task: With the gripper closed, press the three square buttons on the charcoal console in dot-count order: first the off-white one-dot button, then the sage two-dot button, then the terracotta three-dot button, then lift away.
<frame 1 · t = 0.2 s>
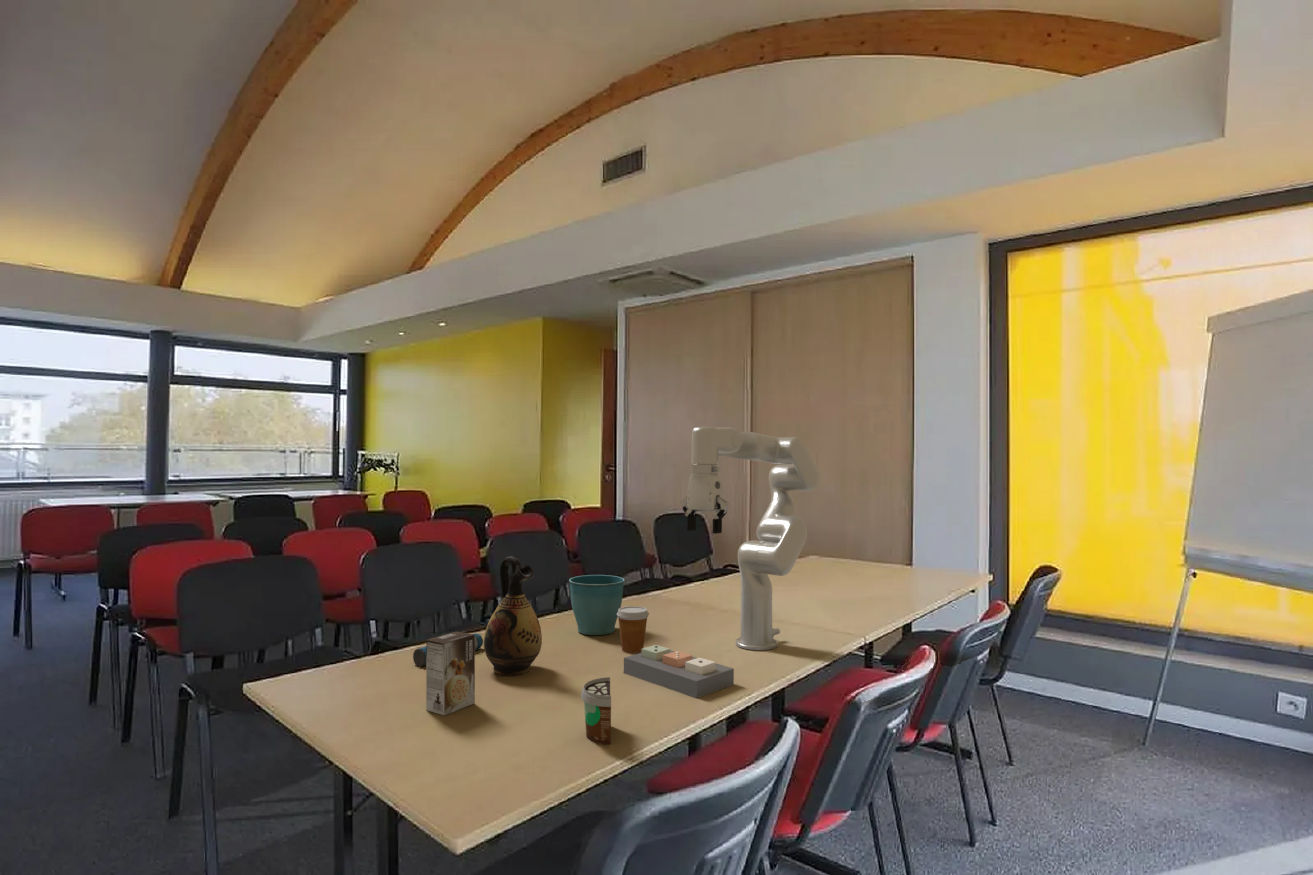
hand: (704, 531, 193), 36 cm above the table, tool pointing down, fingers open, 9 cm apart
button two dots: (655, 654, 184), point 4 cm above the table, slide at 0.0 cm
disposable coffee cup: (632, 650, 204), on the table
flower pot: (596, 632, 225), on the table
ceramic jug: (511, 670, 185), on the table
button one dot: (700, 668, 172), point 4 cm above the table, slide at 0.0 cm
food container: (595, 736, 142), on the table
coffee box: (450, 708, 157), on the table
console: (677, 678, 178), on the table
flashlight: (450, 658, 196), on the table
button three dots: (677, 661, 178), point 4 cm above the table, slide at 0.0 cm
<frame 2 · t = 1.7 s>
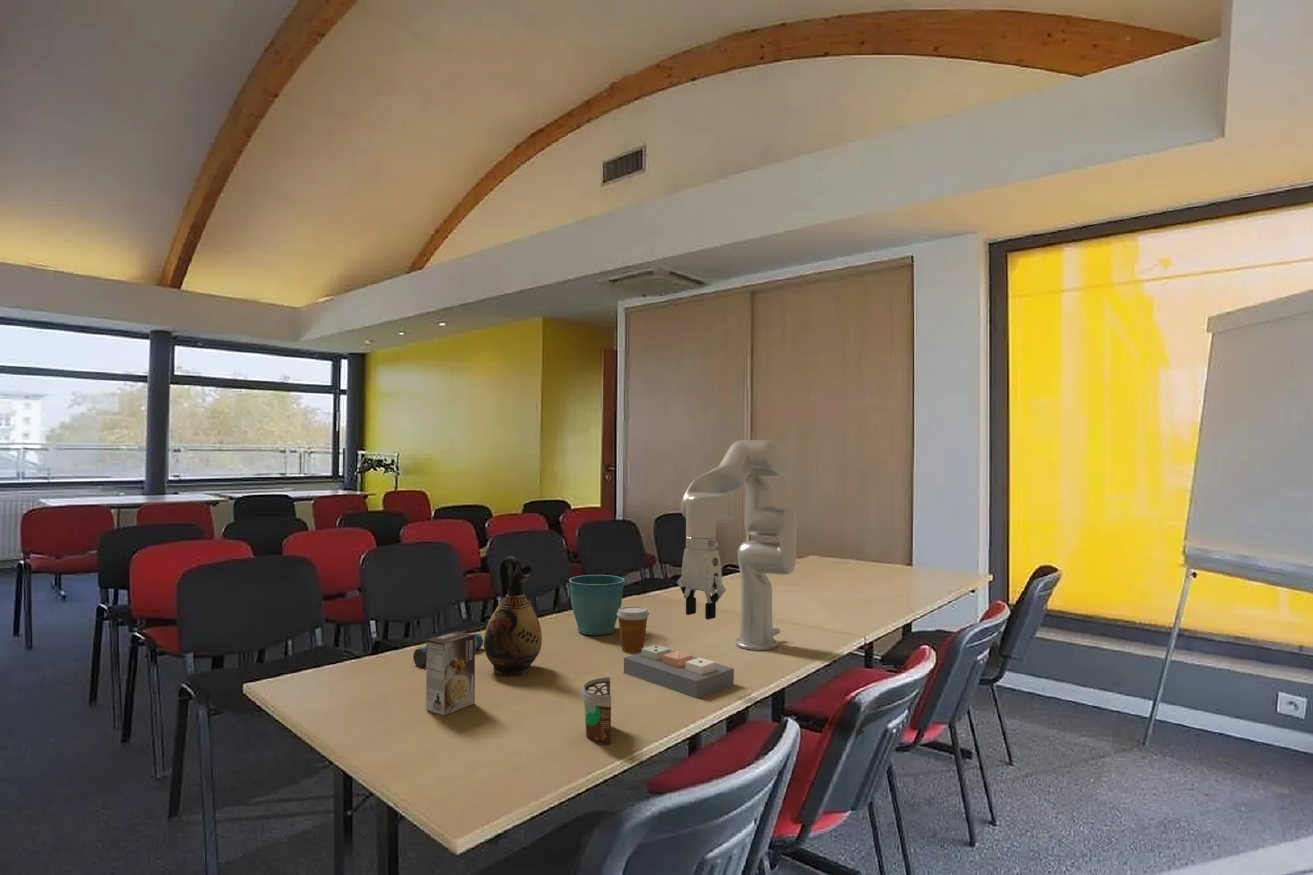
hand: (700, 615, 173), 18 cm above the table, tool pointing down, fingers open, 5 cm apart
nothing on the table moved.
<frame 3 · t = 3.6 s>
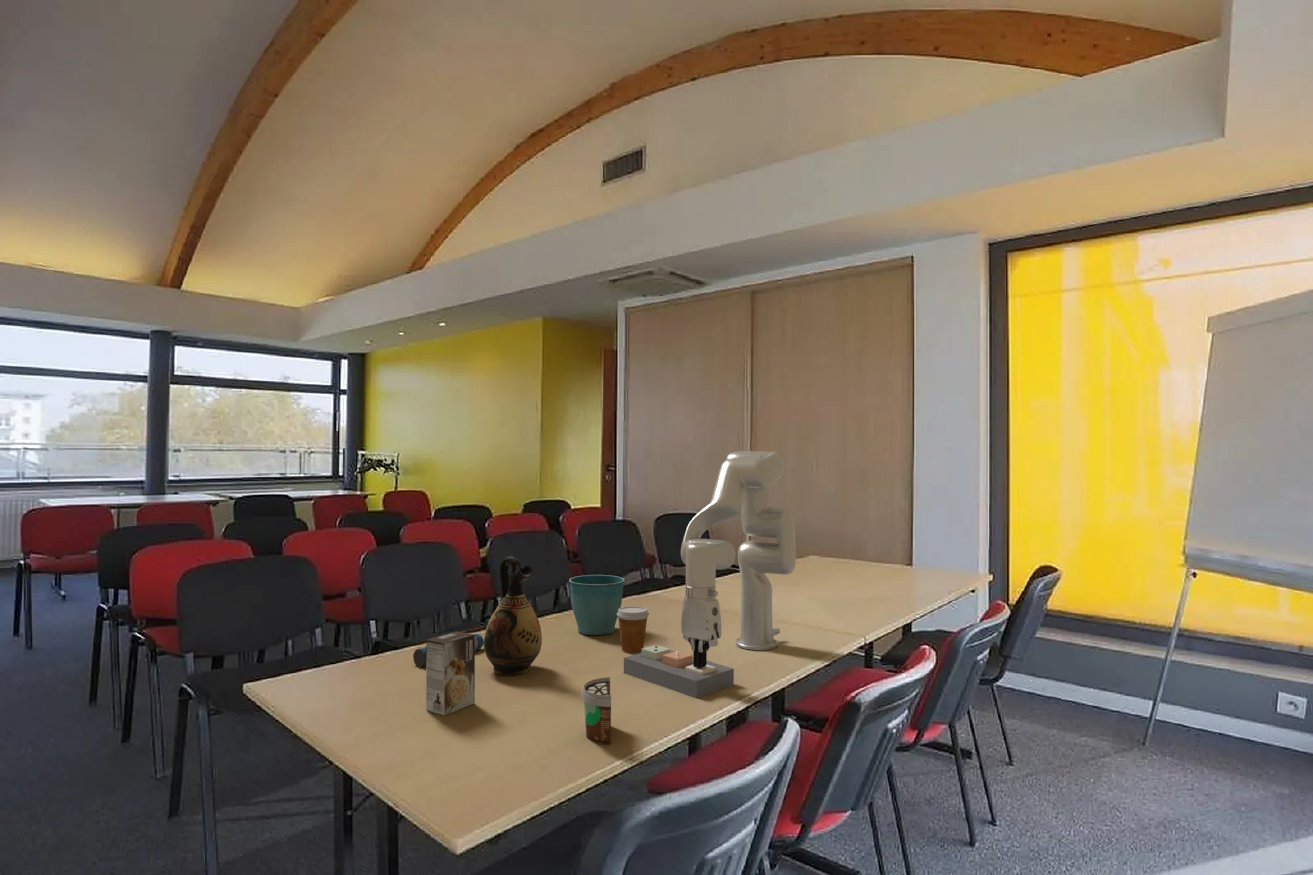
hand: (699, 666, 172), 5 cm above the table, tool pointing down, fingers closed
button one dot: (700, 673, 172), point 3 cm above the table, slide at 1.3 cm, touching gripper
everything else where it was.
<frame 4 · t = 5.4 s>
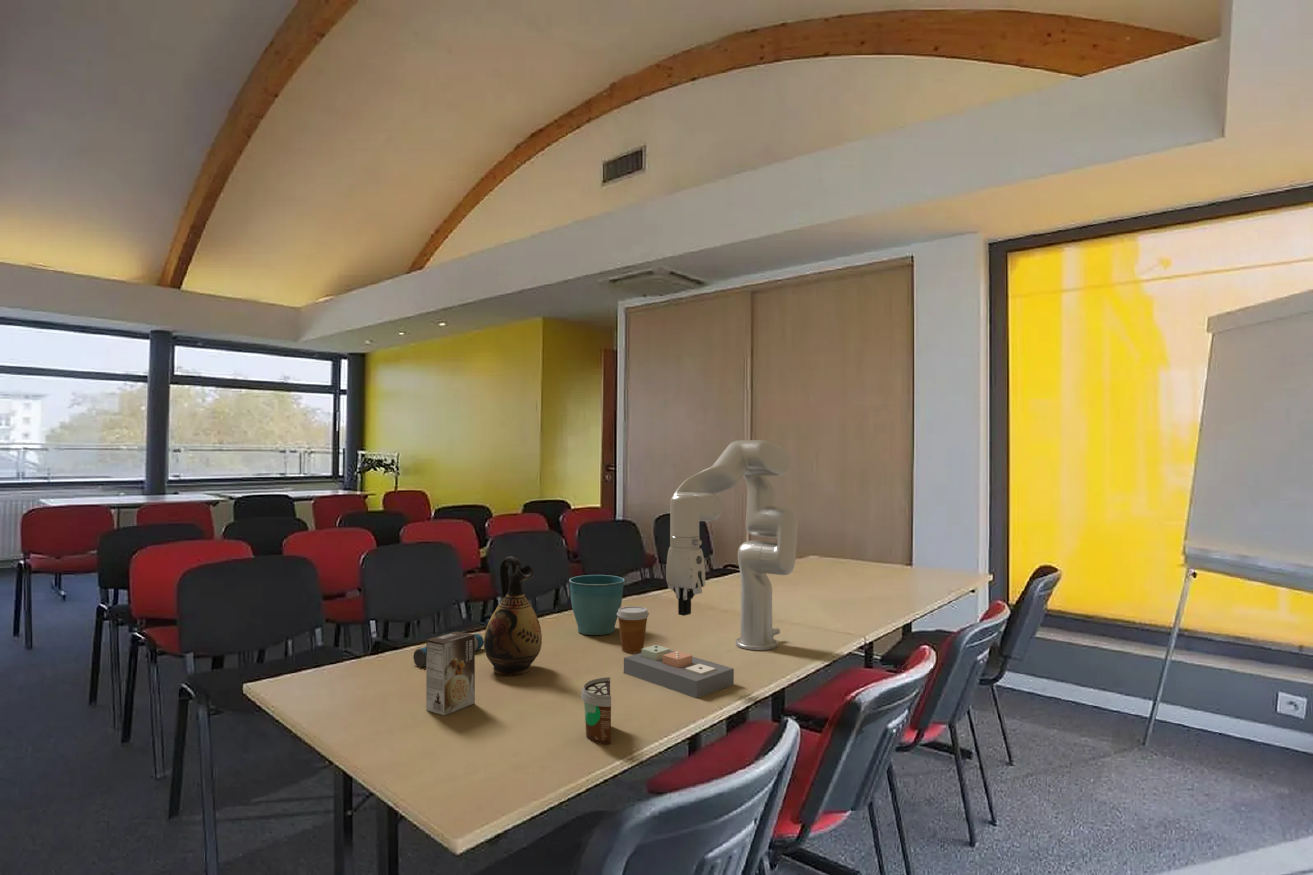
hand: (684, 614, 177), 17 cm above the table, tool pointing down, fingers closed
button one dot: (700, 674, 172), point 3 cm above the table, slide at 1.6 cm
everything else where it was.
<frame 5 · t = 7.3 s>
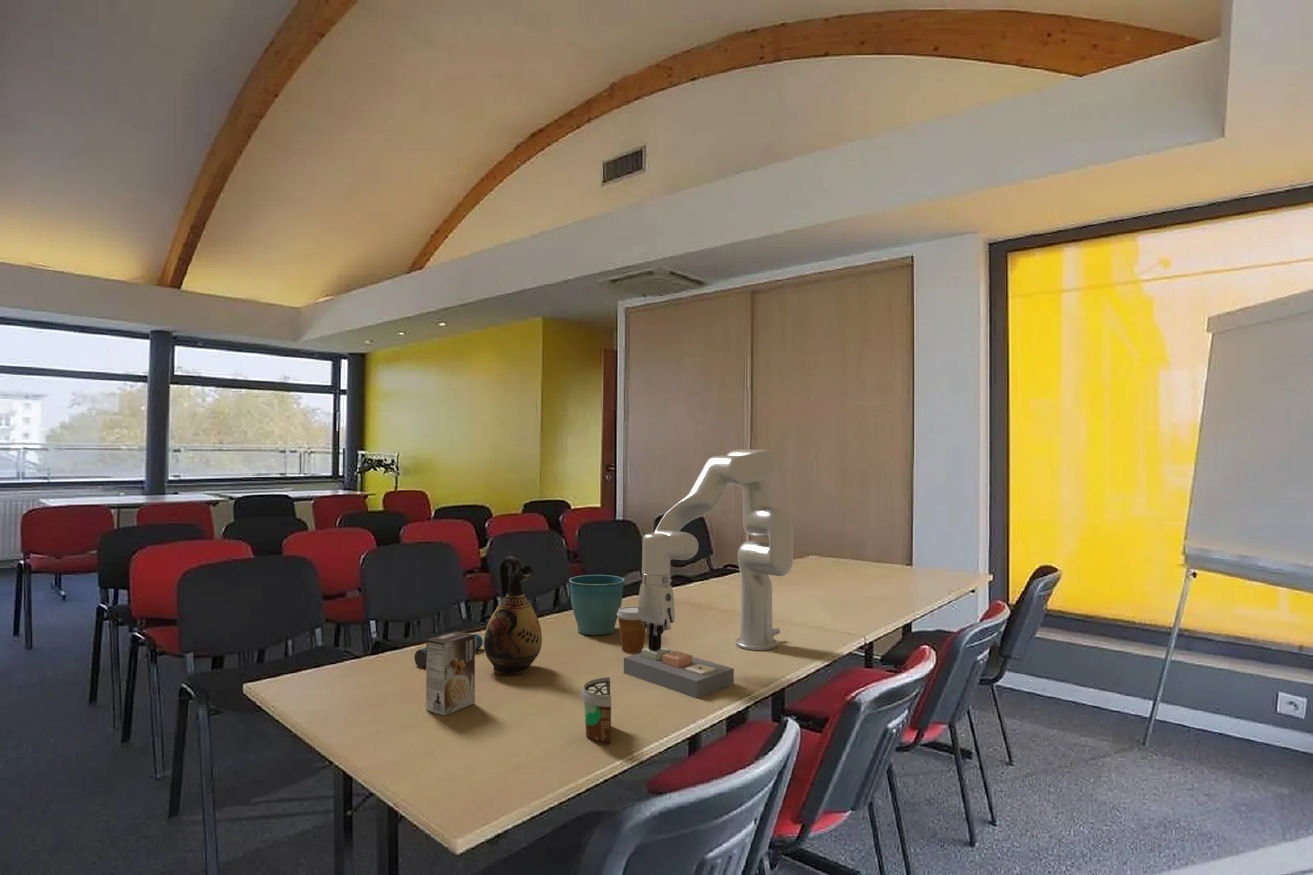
hand: (654, 648, 184), 6 cm above the table, tool pointing down, fingers closed
button two dots: (655, 655, 184), point 4 cm above the table, slide at 0.2 cm, touching gripper
everything else where it was.
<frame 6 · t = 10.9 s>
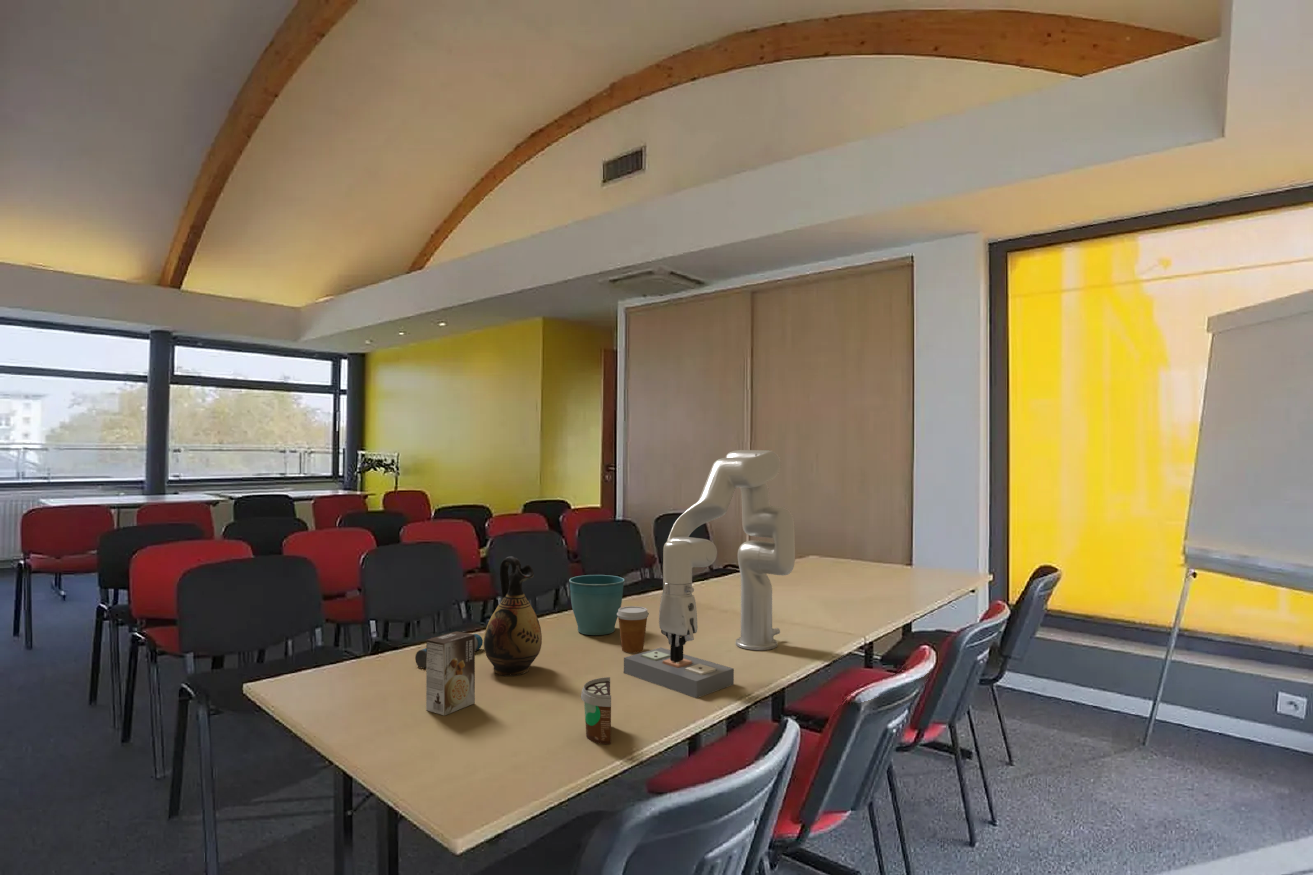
hand: (676, 660, 178), 5 cm above the table, tool pointing down, fingers closed
button two dots: (655, 660, 184), point 3 cm above the table, slide at 1.6 cm
button three dots: (677, 667, 178), point 3 cm above the table, slide at 1.5 cm
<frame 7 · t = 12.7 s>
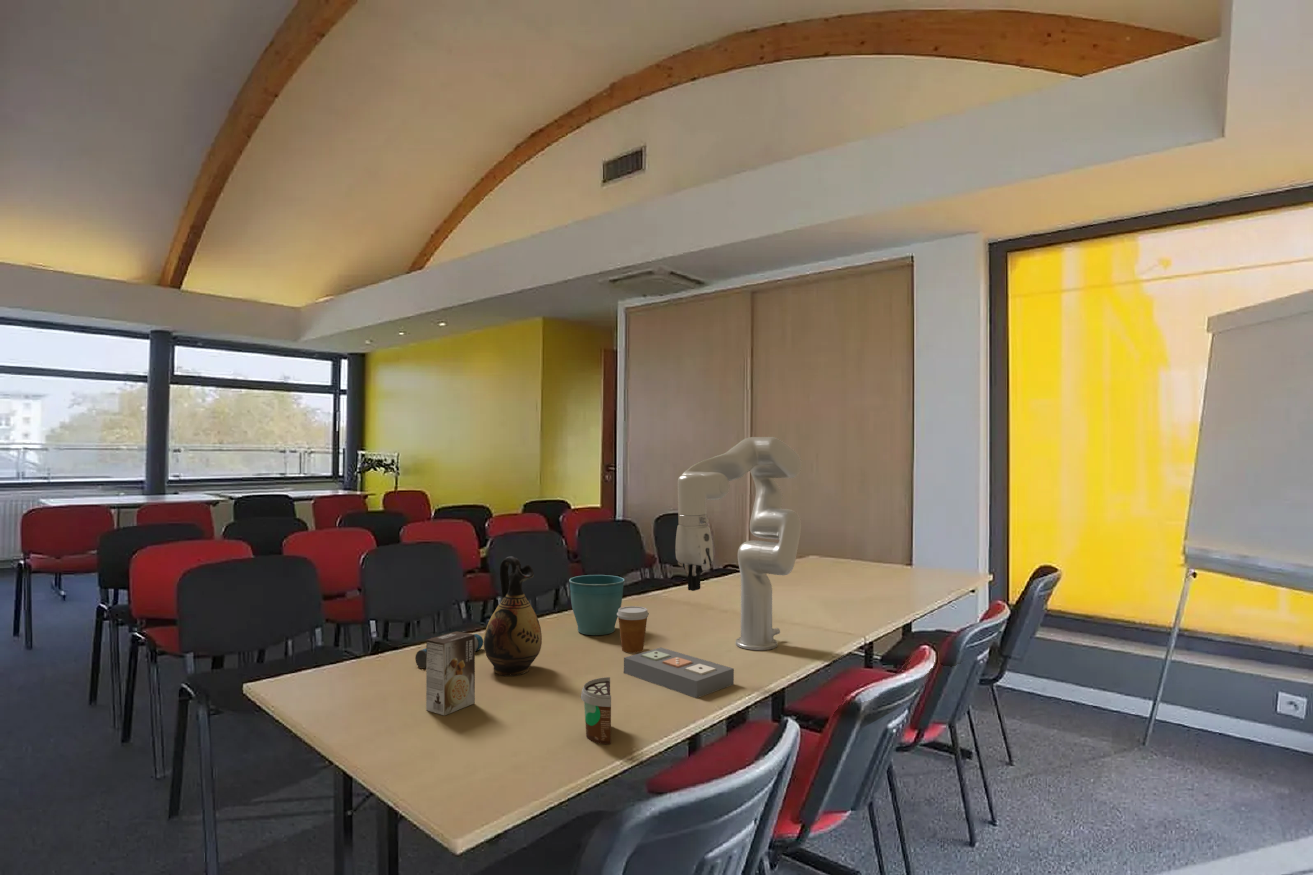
hand: (694, 589, 183), 22 cm above the table, tool pointing down, fingers closed
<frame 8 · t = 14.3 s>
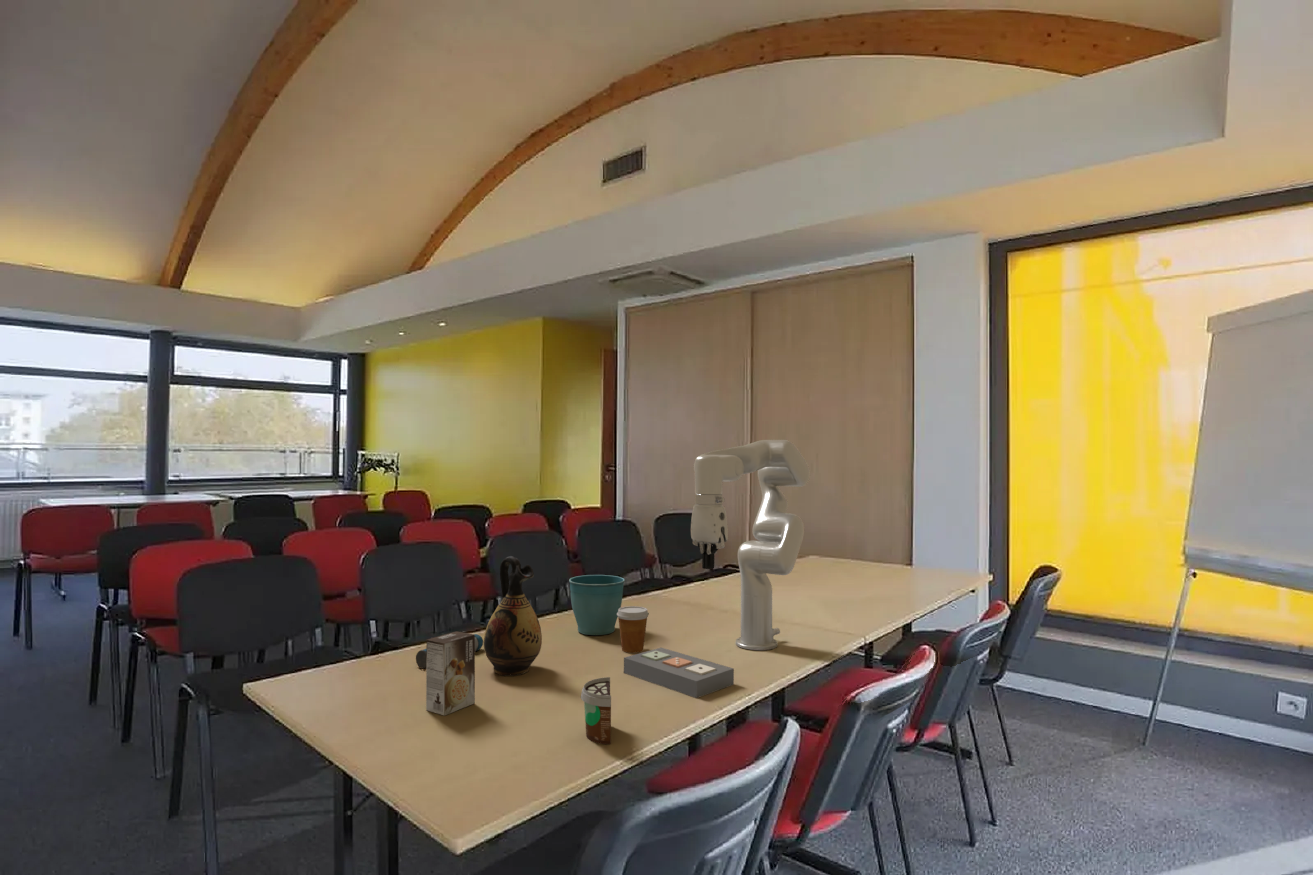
hand: (708, 568, 187), 27 cm above the table, tool pointing down, fingers closed
at the end: button one dot slide at 1.6 cm; button two dots slide at 1.6 cm; button three dots slide at 1.6 cm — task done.
